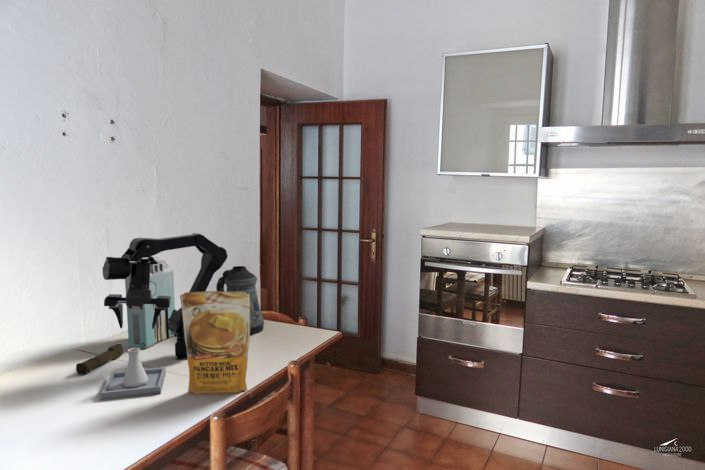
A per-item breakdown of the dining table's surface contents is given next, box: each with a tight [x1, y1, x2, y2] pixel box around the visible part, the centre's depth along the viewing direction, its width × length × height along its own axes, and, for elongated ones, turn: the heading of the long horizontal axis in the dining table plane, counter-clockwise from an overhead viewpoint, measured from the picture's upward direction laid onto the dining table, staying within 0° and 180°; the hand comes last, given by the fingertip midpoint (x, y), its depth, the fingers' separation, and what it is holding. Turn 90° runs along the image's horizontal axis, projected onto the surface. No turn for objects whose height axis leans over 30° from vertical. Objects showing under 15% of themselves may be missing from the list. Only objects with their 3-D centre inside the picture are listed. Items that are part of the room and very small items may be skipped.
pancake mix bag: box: [179, 290, 251, 395], centre depth 140 cm, size 7×19×28 cm, turn 92°
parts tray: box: [100, 366, 167, 401], centre depth 144 cm, size 15×15×2 cm
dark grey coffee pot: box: [215, 265, 265, 336], centre depth 196 cm, size 16×19×25 cm
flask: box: [122, 347, 149, 388], centre depth 144 cm, size 7×7×10 cm
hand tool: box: [75, 343, 124, 376], centre depth 162 cm, size 19×4×5 cm, turn 164°
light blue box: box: [124, 256, 176, 350], centre depth 183 cm, size 16×8×30 cm, turn 162°
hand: (137, 328), depth 157 cm, fingers open, 9 cm apart
